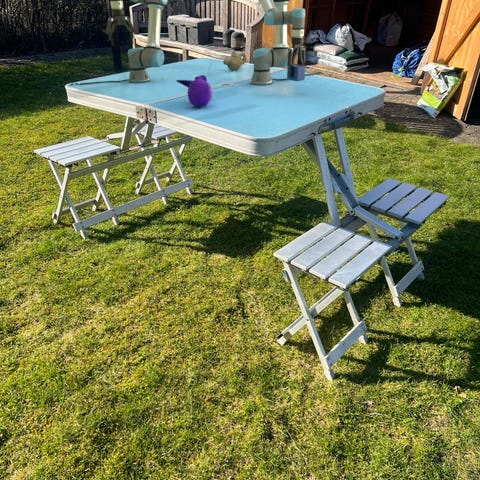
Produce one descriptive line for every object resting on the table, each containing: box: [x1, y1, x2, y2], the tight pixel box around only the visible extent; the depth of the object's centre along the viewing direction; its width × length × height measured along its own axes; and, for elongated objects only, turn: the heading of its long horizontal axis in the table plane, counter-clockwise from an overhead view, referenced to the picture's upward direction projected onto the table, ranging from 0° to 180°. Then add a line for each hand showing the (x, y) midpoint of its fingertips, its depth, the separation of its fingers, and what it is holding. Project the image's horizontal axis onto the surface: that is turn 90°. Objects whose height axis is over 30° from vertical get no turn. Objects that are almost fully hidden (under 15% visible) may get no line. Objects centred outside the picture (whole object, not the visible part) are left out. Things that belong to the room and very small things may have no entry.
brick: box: [286, 63, 306, 82], centre depth 284 cm, size 7×9×8 cm
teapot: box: [222, 50, 247, 72], centre depth 367 cm, size 21×12×15 cm, turn 120°
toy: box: [176, 74, 214, 108], centre depth 269 cm, size 16×18×27 cm
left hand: (122, 45), depth 292 cm, fingers open, 13 cm apart
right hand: (295, 76), depth 285 cm, fingers closed on brick, 7 cm apart
